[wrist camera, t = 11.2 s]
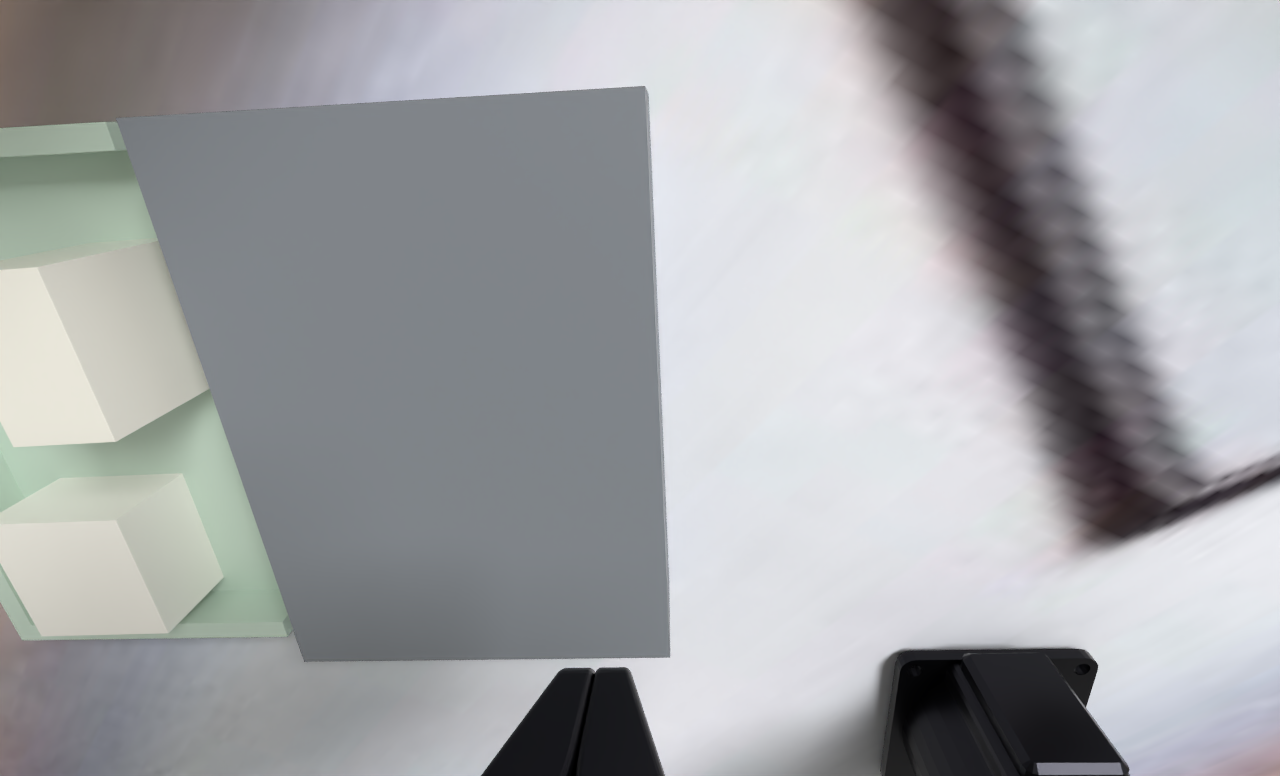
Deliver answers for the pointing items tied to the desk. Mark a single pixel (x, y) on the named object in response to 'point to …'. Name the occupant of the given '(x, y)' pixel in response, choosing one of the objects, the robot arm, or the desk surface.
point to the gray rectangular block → (433, 363)
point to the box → (174, 443)
